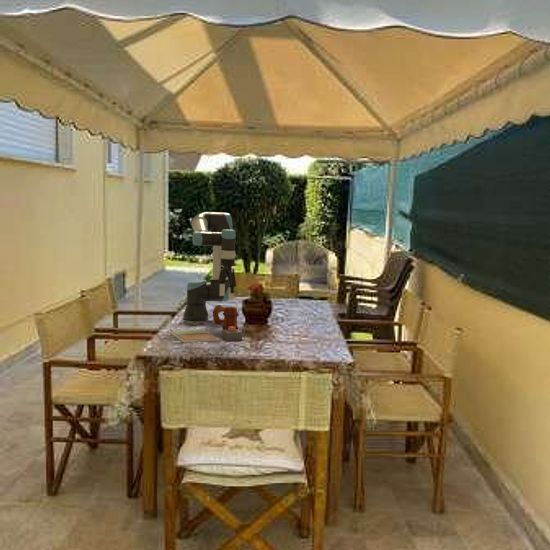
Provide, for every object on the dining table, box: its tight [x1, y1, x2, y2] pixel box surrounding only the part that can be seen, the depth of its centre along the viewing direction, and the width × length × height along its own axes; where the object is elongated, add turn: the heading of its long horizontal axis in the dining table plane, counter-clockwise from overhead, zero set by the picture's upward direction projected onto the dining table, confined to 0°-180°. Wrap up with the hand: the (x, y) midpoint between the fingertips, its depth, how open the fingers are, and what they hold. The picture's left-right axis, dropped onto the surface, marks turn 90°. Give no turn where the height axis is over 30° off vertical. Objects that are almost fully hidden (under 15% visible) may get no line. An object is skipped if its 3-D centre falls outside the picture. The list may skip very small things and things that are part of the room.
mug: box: [212, 304, 240, 330], centre depth 344 cm, size 15×8×15 cm, turn 74°
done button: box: [228, 326, 235, 332], centre depth 331 cm, size 4×4×4 cm
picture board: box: [168, 328, 219, 343], centre depth 333 cm, size 26×18×1 cm
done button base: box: [221, 329, 243, 341], centre depth 332 cm, size 8×8×4 cm
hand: (226, 297), depth 343 cm, fingers open, 13 cm apart
